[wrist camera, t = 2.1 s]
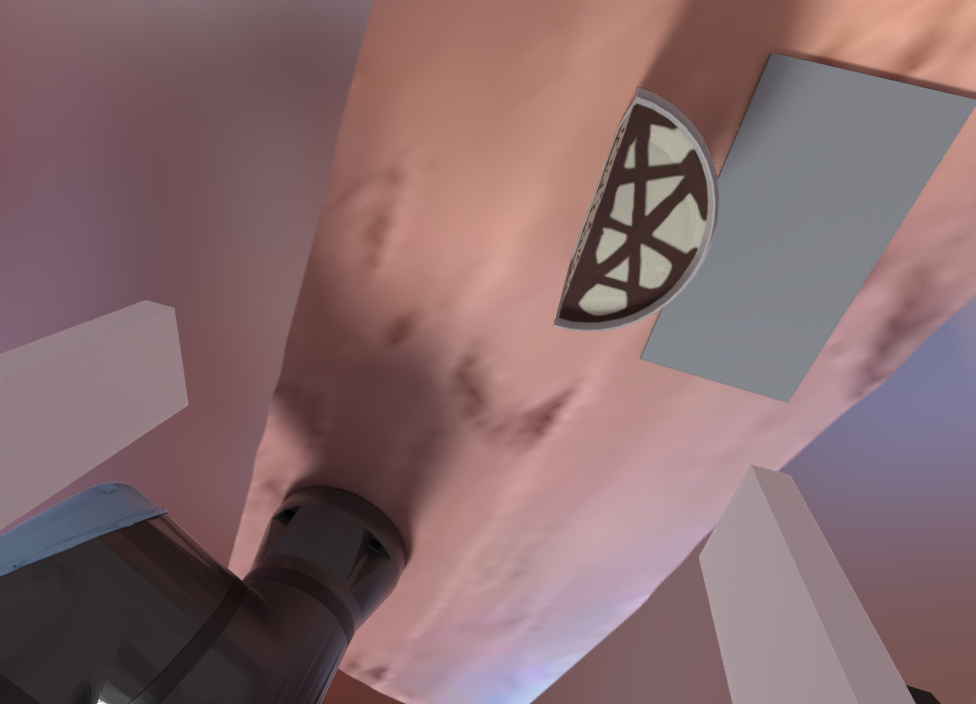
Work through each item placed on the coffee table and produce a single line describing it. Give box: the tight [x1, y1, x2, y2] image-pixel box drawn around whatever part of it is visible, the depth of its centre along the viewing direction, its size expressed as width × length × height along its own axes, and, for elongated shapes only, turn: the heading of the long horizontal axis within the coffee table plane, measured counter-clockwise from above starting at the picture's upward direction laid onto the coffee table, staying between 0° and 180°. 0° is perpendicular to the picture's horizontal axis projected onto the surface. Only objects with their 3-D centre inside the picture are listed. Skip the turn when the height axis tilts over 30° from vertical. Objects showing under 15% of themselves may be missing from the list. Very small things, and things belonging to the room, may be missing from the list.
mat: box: [640, 53, 976, 403], centre depth 30 cm, size 11×20×1 cm, turn 167°
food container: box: [553, 87, 719, 331], centre depth 27 cm, size 12×6×10 cm, turn 166°
